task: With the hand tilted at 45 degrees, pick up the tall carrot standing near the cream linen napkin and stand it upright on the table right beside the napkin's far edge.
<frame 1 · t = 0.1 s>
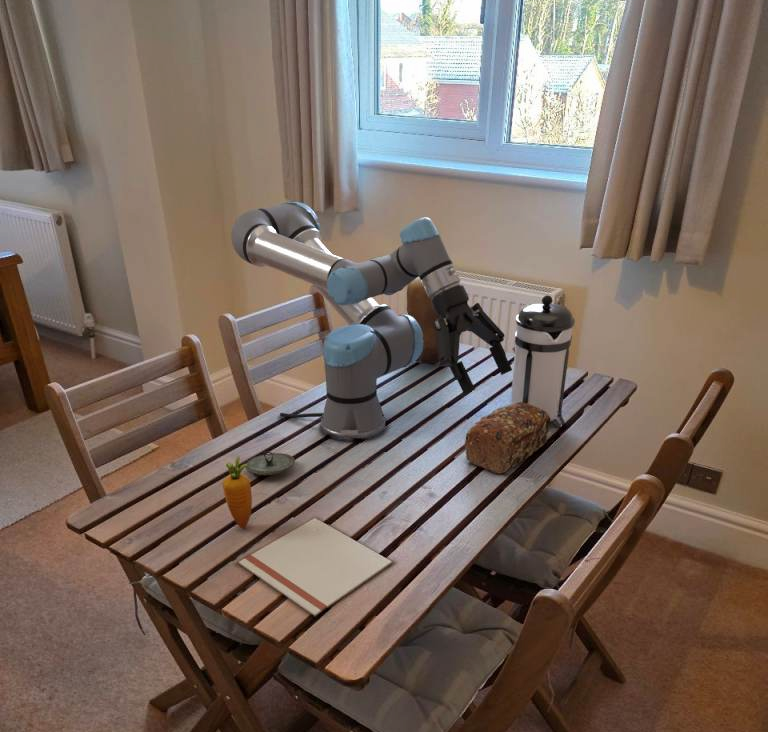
hand: (488, 382, 148), 15 cm above the table, tool tilted 35°, fingers open, 13 cm apart
bread: (506, 453, 153), on the table
carrot: (243, 529, 130), on the table
napkin: (315, 563, 121), on the table
butternut squash: (428, 363, 198), on the table
coffee press: (531, 417, 167), on the table
lid: (270, 470, 149), on the table
sundae: (521, 386, 183), on the table
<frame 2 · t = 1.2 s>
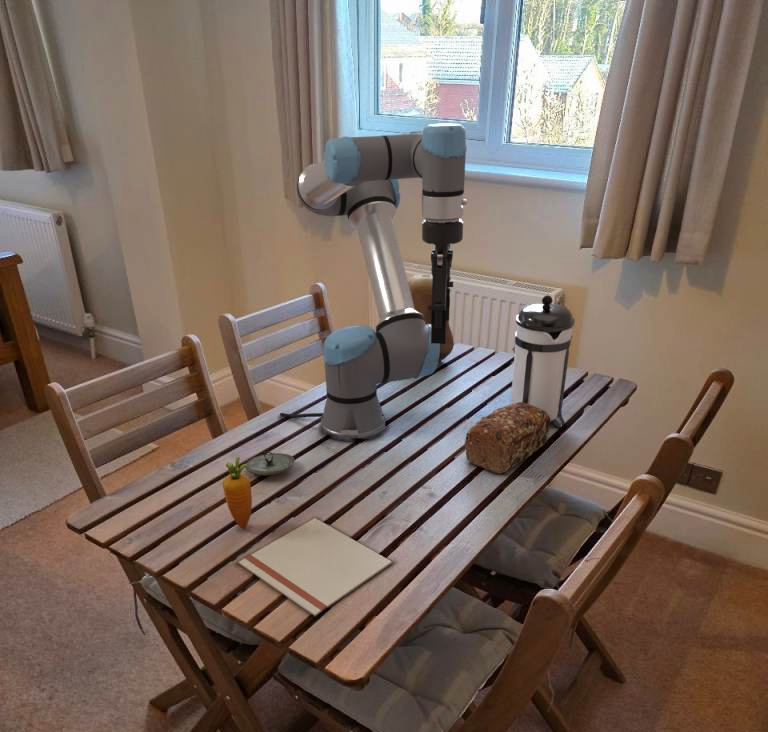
hand: (440, 331, 137), 28 cm above the table, tool pointing down, fingers open, 13 cm apart
nothing on the table moved.
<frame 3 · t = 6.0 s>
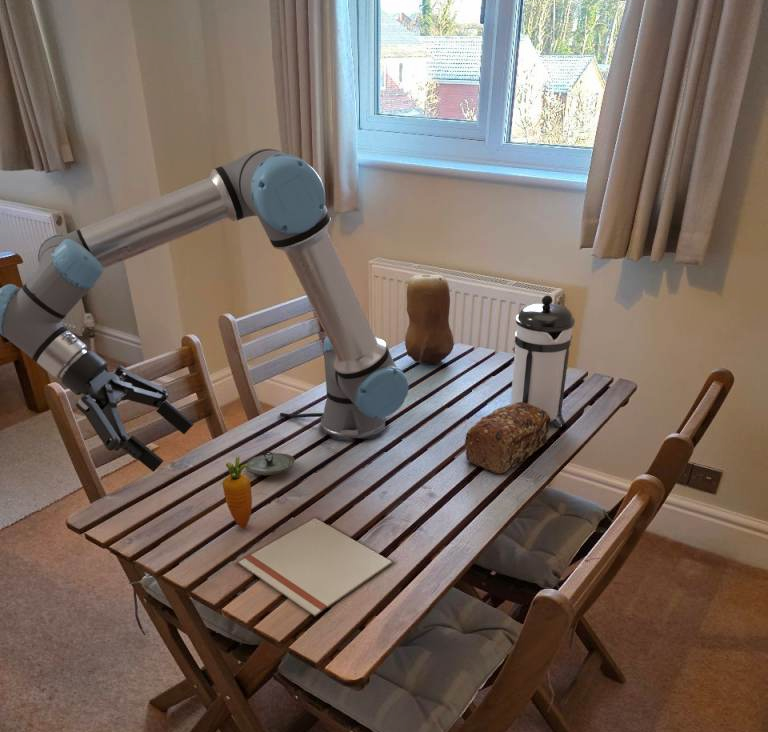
hand: (174, 447, 123), 17 cm above the table, tool tilted 45°, fingers open, 13 cm apart
nothing on the table moved.
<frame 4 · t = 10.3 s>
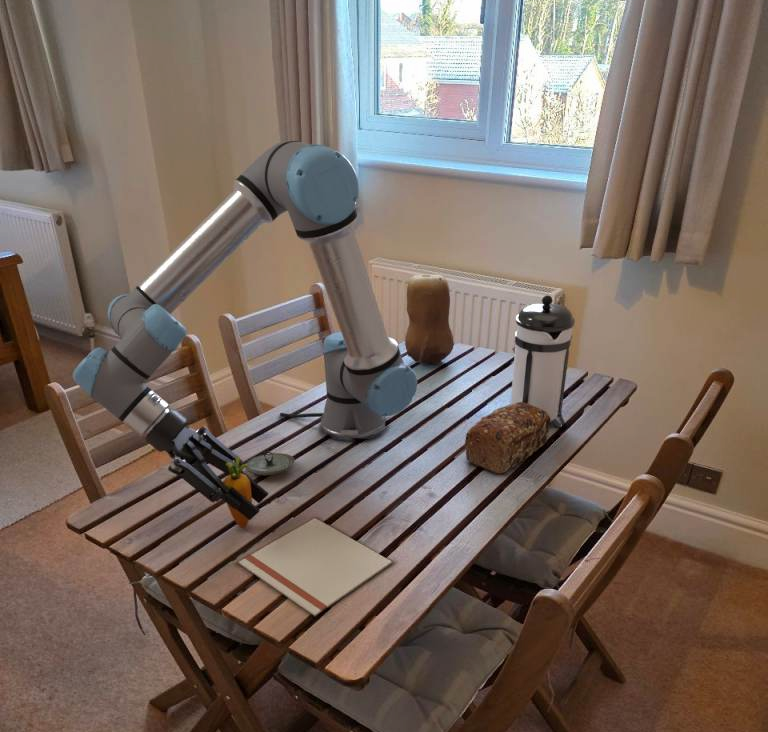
hand: (259, 506, 127), 5 cm above the table, tool tilted 45°, fingers closed on carrot, 5 cm apart
carrot: (243, 529, 130), on the table, touching gripper
everything else where it was.
when the fingers open (5 cm above the table, at t = 20.3 s): carrot stays where it is, on the table.
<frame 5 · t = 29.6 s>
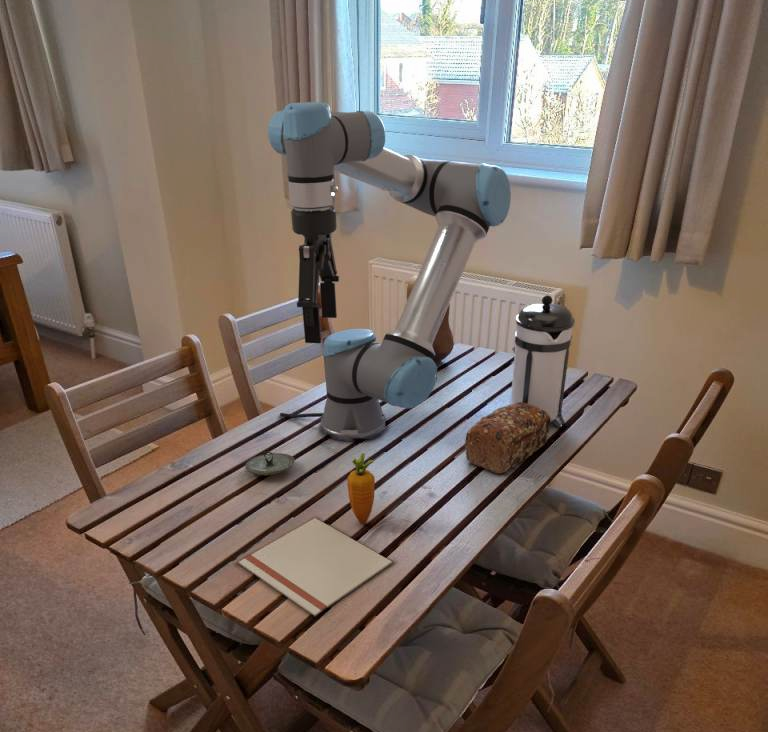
hand: (321, 329, 127), 33 cm above the table, tool pointing down, fingers open, 13 cm apart
carrot: (362, 525, 131), on the table
everything else where it was.
at the end: carrot inside the target area (1.7 cm from its centre), on the table; carrot tilted 0°; the gripper is holding nothing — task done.
